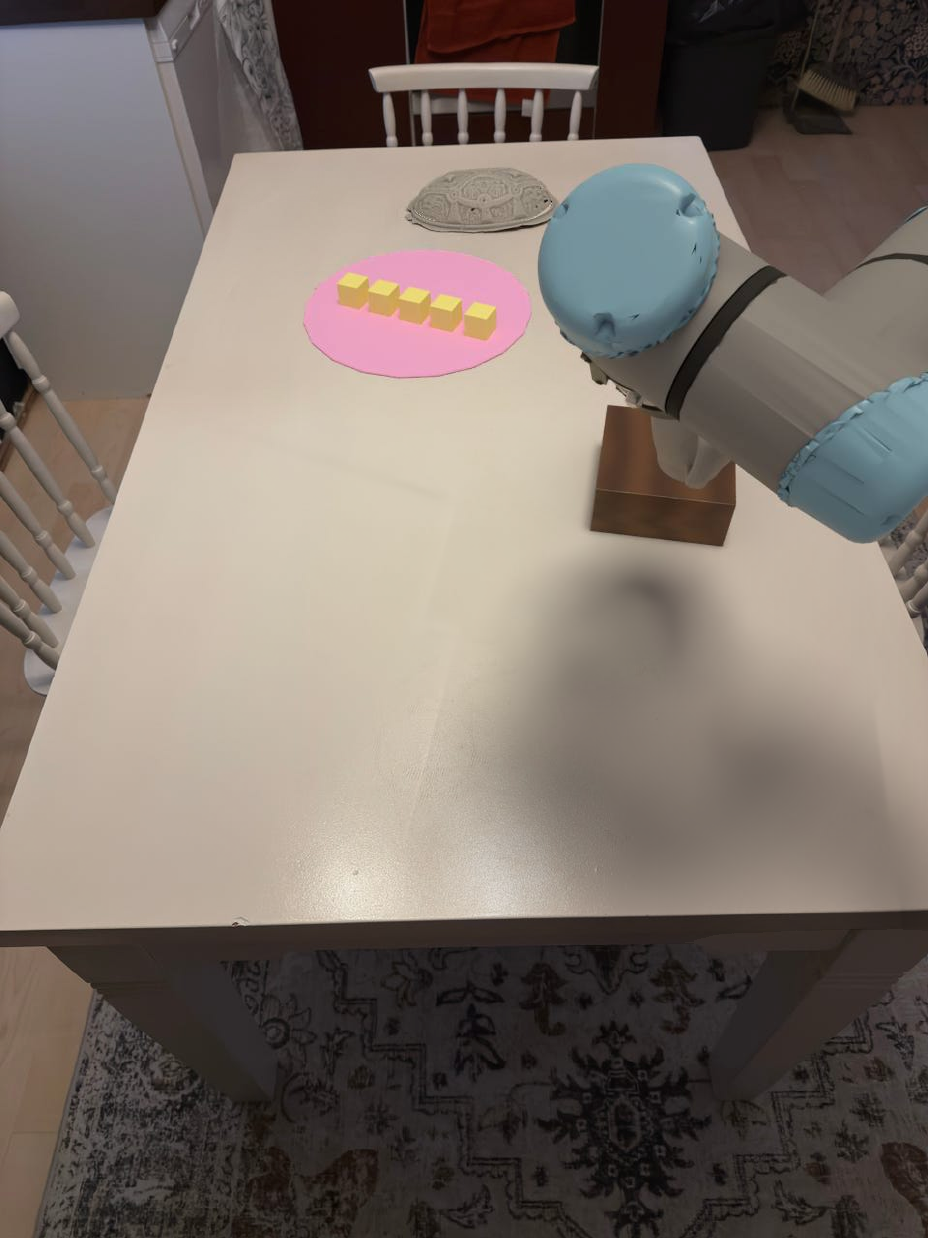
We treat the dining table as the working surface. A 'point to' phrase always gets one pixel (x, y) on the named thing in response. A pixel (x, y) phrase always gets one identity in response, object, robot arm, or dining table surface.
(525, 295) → the platter
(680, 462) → the mug
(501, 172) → the grey domed piece
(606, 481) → the riser
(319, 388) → the dining table surface
